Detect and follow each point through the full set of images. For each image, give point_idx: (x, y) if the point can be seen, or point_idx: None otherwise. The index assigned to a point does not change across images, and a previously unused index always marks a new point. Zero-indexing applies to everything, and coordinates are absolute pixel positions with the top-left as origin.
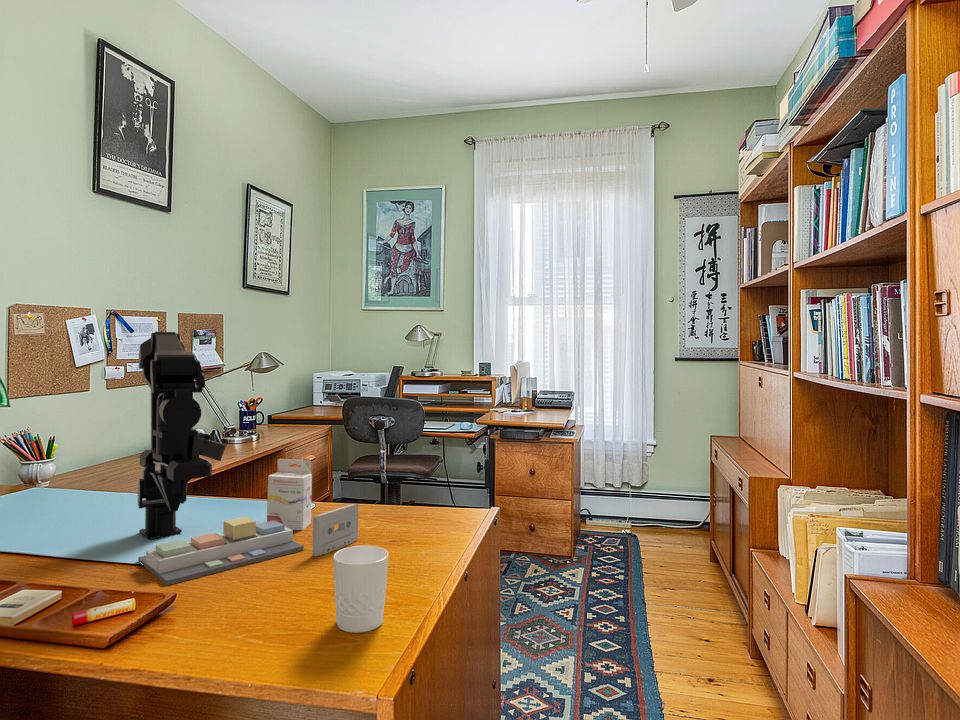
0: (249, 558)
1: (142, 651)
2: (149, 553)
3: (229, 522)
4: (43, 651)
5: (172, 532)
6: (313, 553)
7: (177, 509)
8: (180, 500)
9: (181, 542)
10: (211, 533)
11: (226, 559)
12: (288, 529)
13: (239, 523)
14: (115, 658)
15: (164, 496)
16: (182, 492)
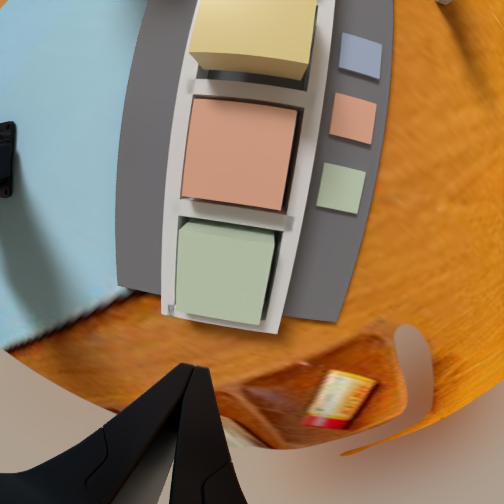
0: (378, 95)
1: (462, 393)
2: (190, 319)
3: (236, 44)
4: (371, 446)
5: (11, 145)
6: (443, 3)
7: (209, 373)
8: (217, 415)
9: (213, 249)
10: (194, 113)
11: (333, 139)
12: None
13: (292, 27)
14: (447, 410)
15: (168, 472)
16: (231, 470)
